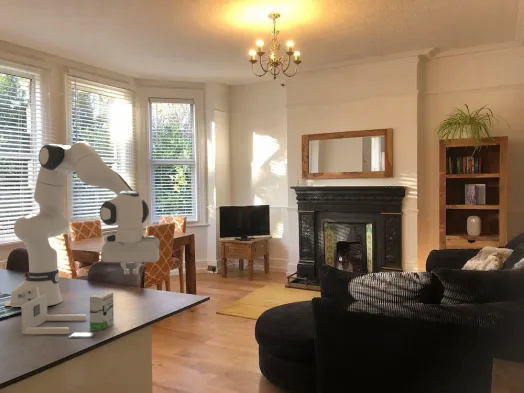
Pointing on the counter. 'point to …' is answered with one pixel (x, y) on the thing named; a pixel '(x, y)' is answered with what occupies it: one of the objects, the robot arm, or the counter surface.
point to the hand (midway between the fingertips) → (131, 274)
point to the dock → (43, 318)
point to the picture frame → (82, 335)
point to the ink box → (101, 310)
